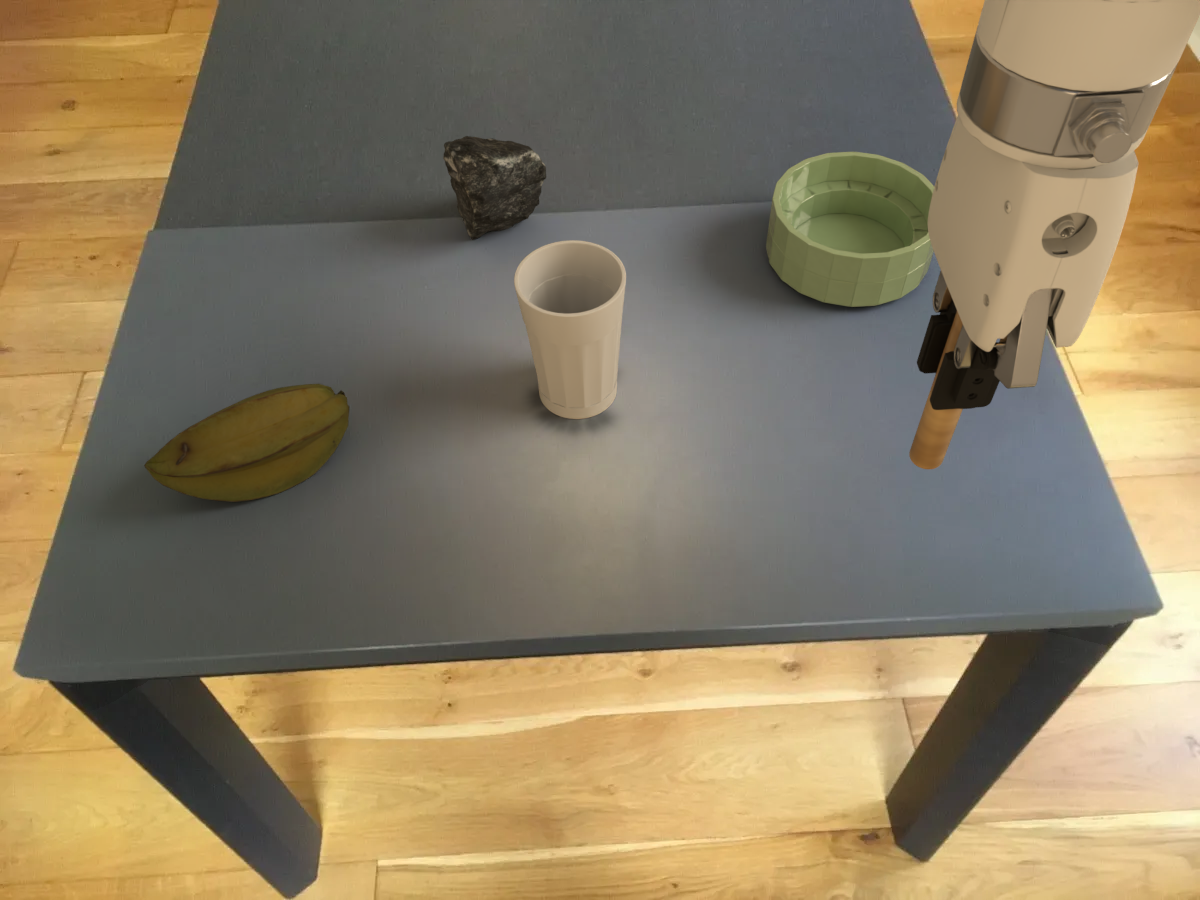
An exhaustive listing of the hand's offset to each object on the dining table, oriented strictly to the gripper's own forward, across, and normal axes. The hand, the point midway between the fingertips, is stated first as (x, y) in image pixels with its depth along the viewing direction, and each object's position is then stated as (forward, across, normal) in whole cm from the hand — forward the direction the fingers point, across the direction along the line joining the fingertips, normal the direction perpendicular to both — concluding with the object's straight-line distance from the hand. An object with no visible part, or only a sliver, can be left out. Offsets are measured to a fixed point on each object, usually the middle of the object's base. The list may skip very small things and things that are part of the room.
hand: (952, 384), depth 54 cm
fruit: (+18, +12, +45) cm, 50 cm away
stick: (+7, 0, 0) cm, 7 cm away
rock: (+18, +38, +28) cm, 51 cm away
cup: (+18, +17, +21) cm, 33 cm away
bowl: (+18, +31, -3) cm, 36 cm away
